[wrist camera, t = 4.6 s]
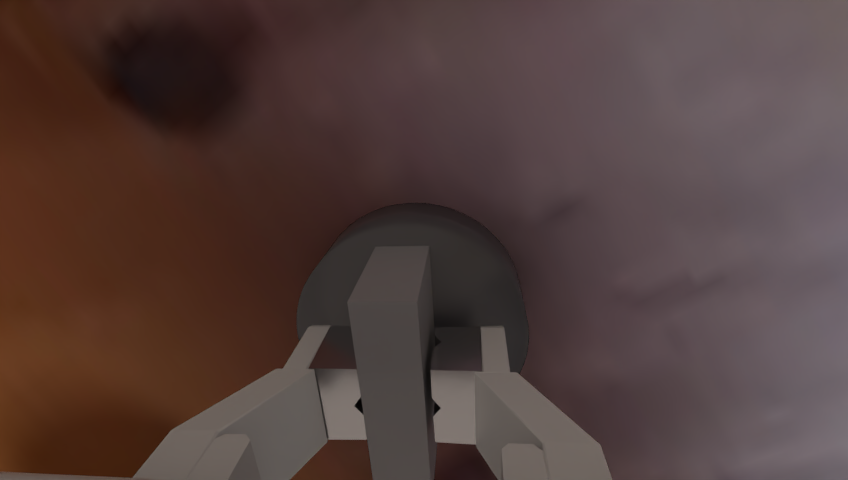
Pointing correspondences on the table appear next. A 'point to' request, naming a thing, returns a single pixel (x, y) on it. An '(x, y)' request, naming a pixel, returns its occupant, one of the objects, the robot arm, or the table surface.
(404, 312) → the grey dial knob
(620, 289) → the table surface
